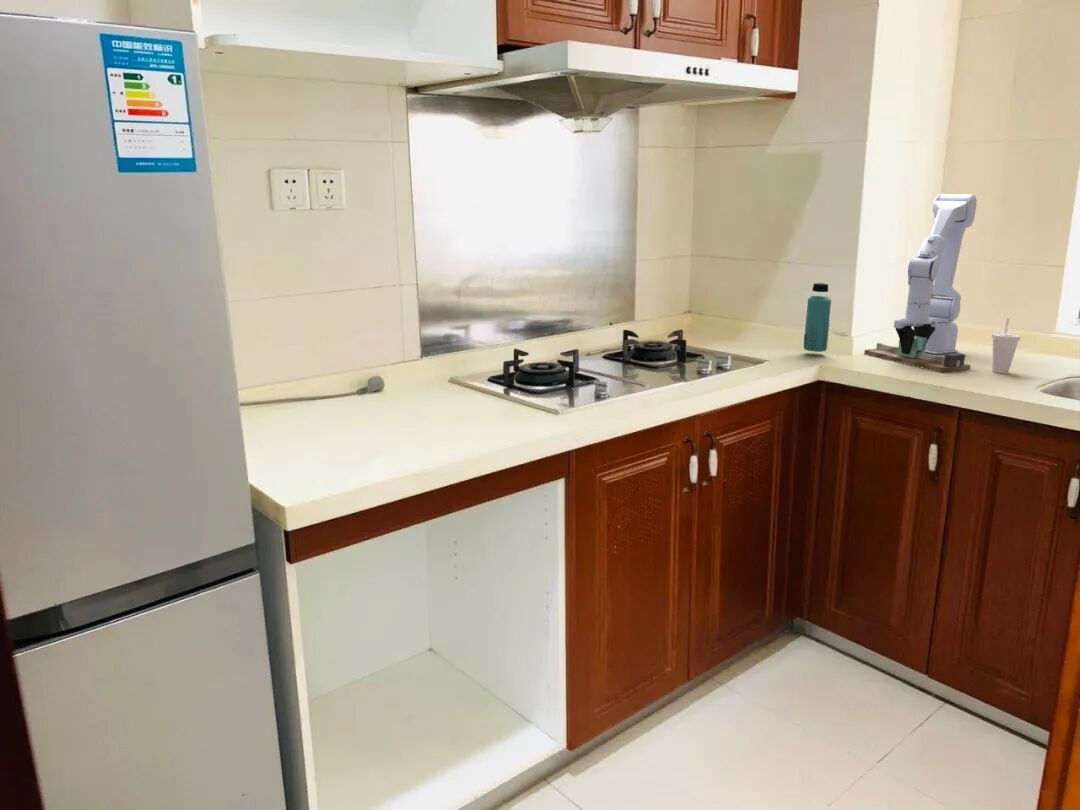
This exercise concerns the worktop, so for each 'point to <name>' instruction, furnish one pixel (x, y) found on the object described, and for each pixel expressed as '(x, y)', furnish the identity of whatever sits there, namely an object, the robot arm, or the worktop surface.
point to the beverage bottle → (817, 320)
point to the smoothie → (1003, 350)
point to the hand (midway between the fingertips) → (912, 352)
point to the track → (922, 359)
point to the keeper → (914, 347)
